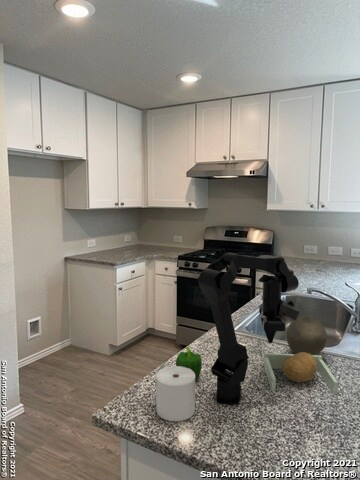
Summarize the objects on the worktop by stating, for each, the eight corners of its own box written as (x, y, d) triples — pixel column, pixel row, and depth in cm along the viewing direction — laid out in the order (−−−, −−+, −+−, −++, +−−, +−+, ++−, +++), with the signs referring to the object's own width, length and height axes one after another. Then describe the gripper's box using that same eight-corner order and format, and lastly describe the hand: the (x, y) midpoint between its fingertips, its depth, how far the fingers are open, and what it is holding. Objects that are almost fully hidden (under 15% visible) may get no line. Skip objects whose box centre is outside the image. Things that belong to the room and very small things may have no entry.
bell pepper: (199, 386, 106) (199, 355, 105) (173, 384, 108) (173, 353, 107) (203, 373, 114) (203, 345, 113) (179, 371, 116) (179, 342, 115)
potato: (323, 376, 113) (324, 353, 112) (305, 393, 103) (306, 367, 102) (294, 366, 119) (295, 344, 119) (275, 381, 109) (276, 357, 108)
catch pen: (271, 391, 103) (272, 375, 103) (264, 366, 119) (264, 353, 119) (337, 395, 102) (338, 379, 101) (320, 369, 117) (321, 355, 117)
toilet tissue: (183, 427, 87) (183, 389, 86) (144, 412, 93) (144, 377, 92) (201, 405, 96) (201, 371, 95) (165, 394, 102) (165, 361, 101)
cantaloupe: (282, 360, 125) (283, 320, 123) (289, 346, 137) (290, 309, 135) (324, 368, 118) (326, 326, 117) (327, 353, 130) (329, 314, 129)
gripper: (304, 304, 98) (302, 356, 100) (292, 288, 117) (291, 333, 118) (264, 303, 100) (263, 354, 101) (259, 287, 118) (258, 331, 120)
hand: (270, 342), depth 110 cm, fingers closed
